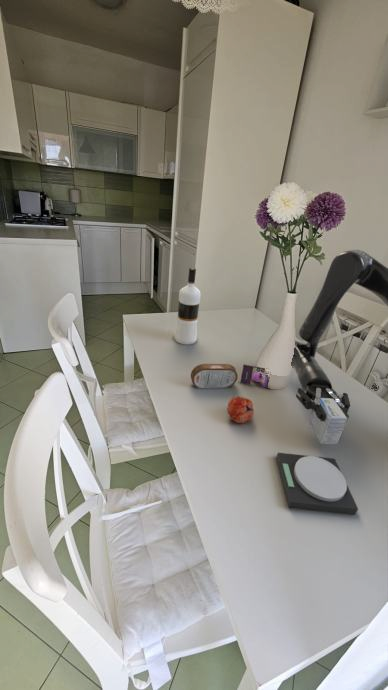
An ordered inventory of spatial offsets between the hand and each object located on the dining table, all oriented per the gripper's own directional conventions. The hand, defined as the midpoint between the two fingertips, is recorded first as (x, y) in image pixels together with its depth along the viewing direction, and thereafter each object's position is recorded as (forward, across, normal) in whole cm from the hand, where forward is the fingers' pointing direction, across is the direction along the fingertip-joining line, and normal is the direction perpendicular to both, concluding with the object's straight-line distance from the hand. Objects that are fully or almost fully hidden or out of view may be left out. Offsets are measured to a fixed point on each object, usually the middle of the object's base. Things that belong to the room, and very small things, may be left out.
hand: (334, 419), depth 74 cm
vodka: (-54, -39, +10) cm, 67 cm away
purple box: (-28, -14, +11) cm, 33 cm away
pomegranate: (-9, -21, +10) cm, 25 cm away
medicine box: (-3, 0, +7) cm, 8 cm away
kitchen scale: (+11, -6, +10) cm, 17 cm away
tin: (-23, -28, +10) cm, 38 cm away
